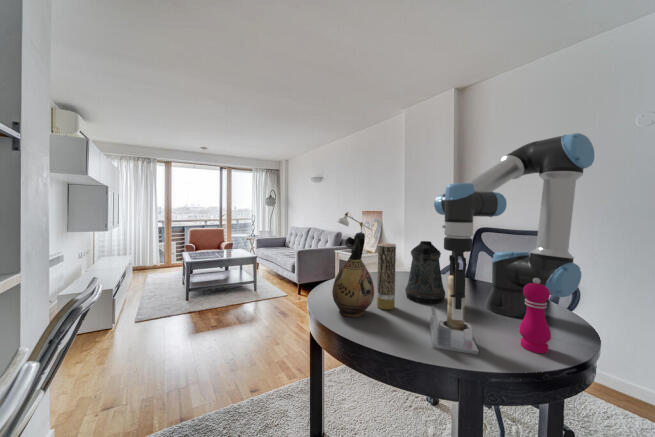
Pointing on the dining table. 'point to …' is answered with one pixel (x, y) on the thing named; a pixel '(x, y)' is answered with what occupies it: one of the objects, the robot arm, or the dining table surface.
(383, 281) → the paper tube
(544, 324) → the pepper mill
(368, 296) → the ceramic jug
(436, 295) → the black tapered vessel
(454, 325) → the wooden spindle
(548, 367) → the dining table surface
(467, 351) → the cup bracket
